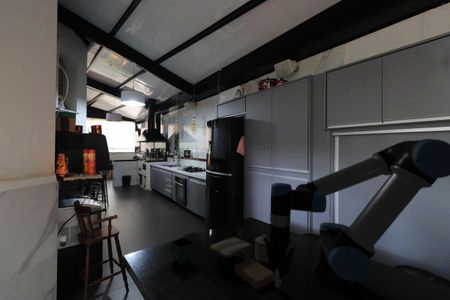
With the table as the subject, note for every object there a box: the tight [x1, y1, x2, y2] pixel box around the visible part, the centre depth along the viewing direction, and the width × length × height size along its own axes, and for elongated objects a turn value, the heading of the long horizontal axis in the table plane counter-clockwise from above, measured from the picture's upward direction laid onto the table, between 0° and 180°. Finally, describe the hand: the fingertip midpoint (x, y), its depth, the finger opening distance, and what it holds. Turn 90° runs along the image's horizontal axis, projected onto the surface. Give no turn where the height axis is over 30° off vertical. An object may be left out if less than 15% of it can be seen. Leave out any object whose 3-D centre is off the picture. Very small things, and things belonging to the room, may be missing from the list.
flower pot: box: [169, 236, 196, 266], centre depth 99 cm, size 9×9×9 cm
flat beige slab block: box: [208, 236, 252, 263], centre depth 99 cm, size 12×16×8 cm
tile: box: [233, 257, 275, 290], centre depth 89 cm, size 14×10×4 cm
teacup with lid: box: [254, 234, 273, 264], centre depth 104 cm, size 12×9×12 cm
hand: (278, 285), depth 80 cm, fingers closed
